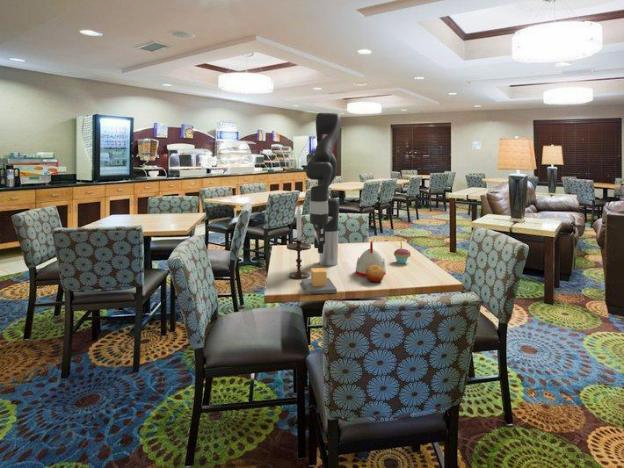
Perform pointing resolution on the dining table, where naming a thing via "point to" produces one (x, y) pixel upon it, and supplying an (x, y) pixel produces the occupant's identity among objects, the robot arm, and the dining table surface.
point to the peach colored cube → (318, 277)
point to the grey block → (319, 287)
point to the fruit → (375, 273)
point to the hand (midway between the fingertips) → (318, 250)
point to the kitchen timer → (369, 261)
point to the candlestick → (298, 249)
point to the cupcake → (402, 254)
